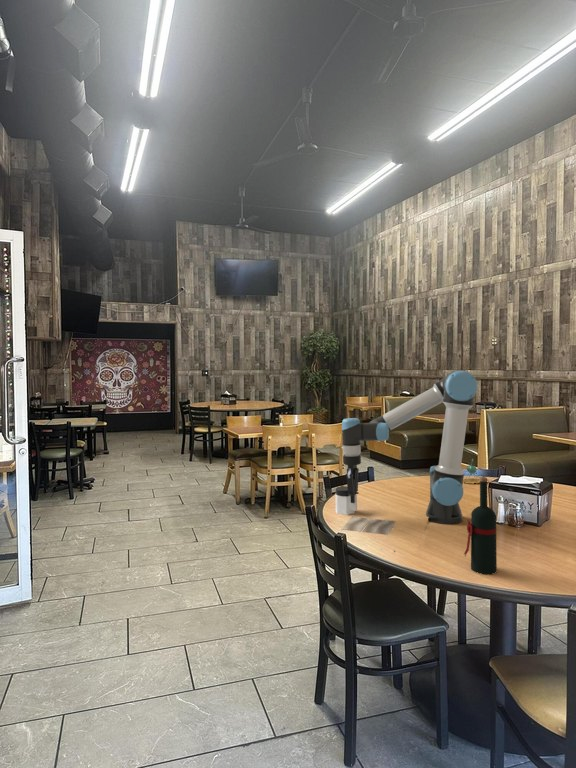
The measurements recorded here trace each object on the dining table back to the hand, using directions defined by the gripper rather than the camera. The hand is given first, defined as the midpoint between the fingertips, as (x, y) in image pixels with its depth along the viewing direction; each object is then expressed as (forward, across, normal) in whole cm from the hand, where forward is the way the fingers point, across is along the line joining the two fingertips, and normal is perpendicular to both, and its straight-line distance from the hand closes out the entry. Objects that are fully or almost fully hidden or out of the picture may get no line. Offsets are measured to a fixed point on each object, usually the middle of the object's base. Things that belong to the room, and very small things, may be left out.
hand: (353, 509), depth 207 cm
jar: (+6, -10, -7) cm, 13 cm away
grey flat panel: (+6, +5, +6) cm, 10 cm away
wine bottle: (+7, +33, +50) cm, 61 cm away
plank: (+5, +5, +2) cm, 8 cm away
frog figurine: (+8, -95, +46) cm, 106 cm away
